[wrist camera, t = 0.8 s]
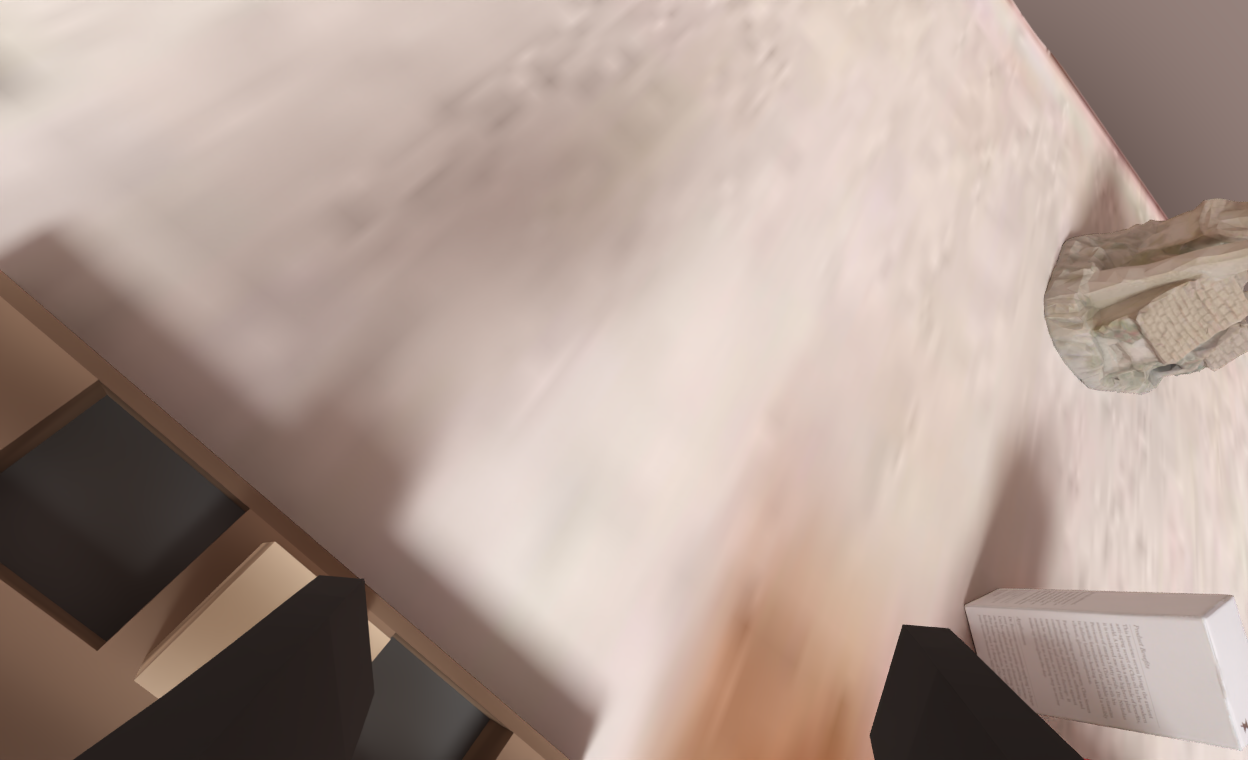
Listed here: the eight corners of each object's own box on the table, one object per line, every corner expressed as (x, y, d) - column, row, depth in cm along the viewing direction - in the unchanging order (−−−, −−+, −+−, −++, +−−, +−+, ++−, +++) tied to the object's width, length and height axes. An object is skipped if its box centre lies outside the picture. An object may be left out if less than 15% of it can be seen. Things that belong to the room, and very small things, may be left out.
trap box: (349, 1153, 21) (378, 1266, 18) (-557, 610, 15) (-772, 628, 12) (577, 775, 27) (630, 806, 24) (-1, 280, 21) (-38, 228, 18)
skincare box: (1024, 682, 43) (1275, 721, 33) (987, 706, 41) (1244, 756, 31) (999, 583, 44) (1236, 592, 34) (960, 601, 41) (1204, 617, 31)
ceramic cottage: (1028, 301, 53) (1294, 233, 41) (1079, 210, 62) (1308, 132, 50) (1109, 461, 56) (1376, 441, 44) (1145, 352, 65) (1374, 311, 53)
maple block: (259, 743, 20) (271, 782, 17) (144, 658, 19) (133, 680, 16) (361, 626, 22) (390, 639, 19) (262, 542, 21) (275, 541, 18)
